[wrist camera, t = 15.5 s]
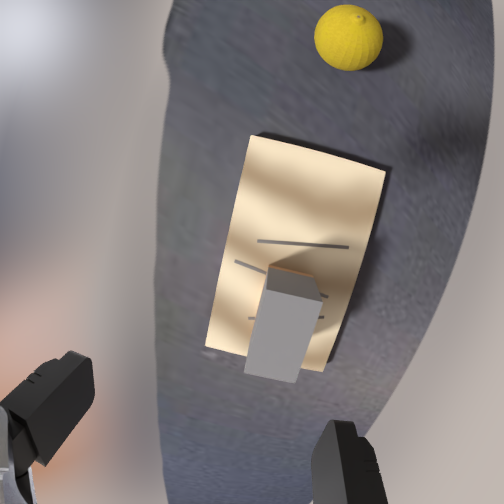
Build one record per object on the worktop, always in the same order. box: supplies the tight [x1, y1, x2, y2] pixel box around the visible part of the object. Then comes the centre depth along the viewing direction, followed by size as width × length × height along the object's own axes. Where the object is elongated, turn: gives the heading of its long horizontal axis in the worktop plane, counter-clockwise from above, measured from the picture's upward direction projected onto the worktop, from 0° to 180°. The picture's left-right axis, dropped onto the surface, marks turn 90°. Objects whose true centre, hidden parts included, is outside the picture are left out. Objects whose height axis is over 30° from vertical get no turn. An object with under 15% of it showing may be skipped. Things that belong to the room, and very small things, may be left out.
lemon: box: [314, 5, 383, 71], centre depth 20 cm, size 6×6×8 cm
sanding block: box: [244, 265, 323, 383], centre depth 25 cm, size 7×4×6 cm, turn 167°
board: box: [205, 135, 386, 372], centre depth 28 cm, size 20×12×1 cm, turn 167°
